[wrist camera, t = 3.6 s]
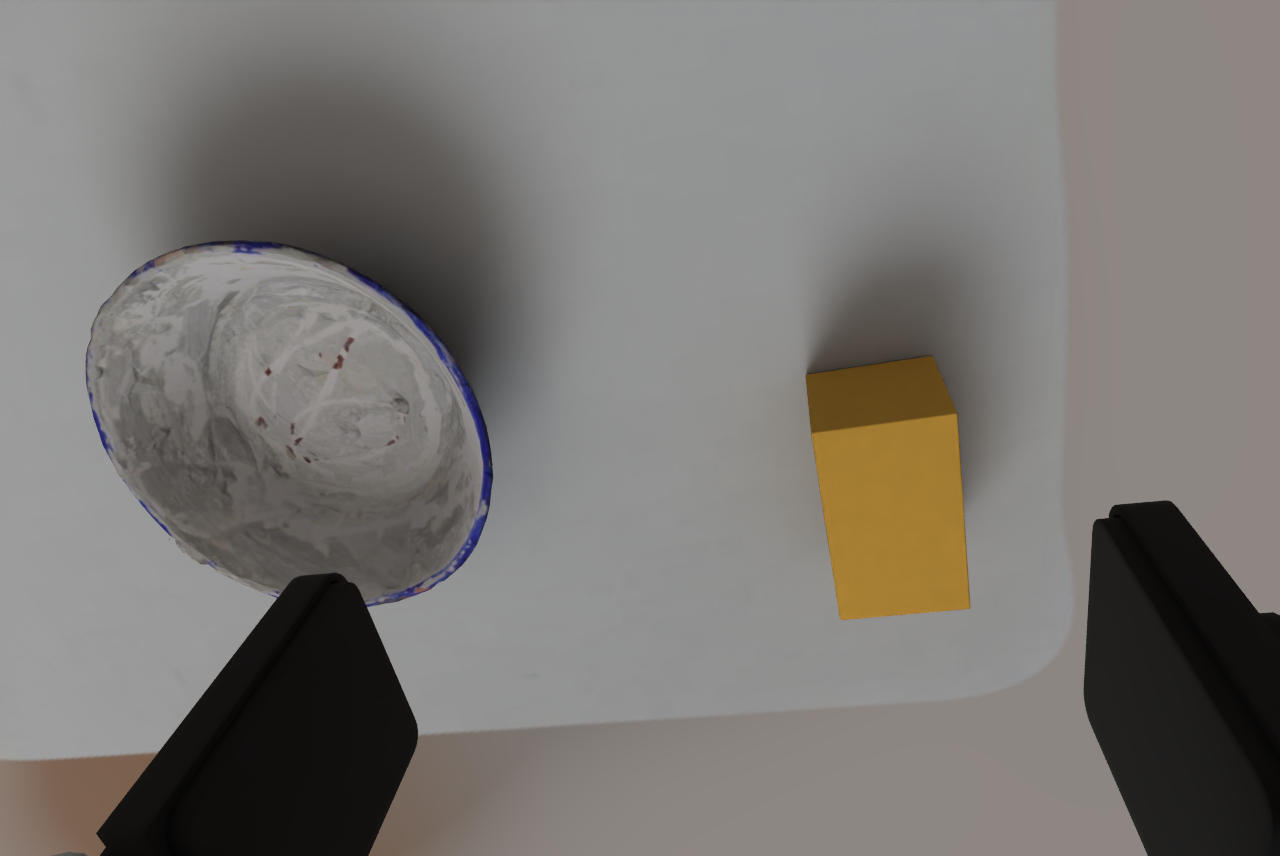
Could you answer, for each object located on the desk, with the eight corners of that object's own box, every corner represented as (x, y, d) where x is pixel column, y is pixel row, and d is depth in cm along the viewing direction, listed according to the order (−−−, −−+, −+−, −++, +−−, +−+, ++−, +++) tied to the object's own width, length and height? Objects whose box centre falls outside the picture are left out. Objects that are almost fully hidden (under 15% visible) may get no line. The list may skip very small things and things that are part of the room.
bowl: (582, 495, 31) (553, 579, 27) (293, 559, 34) (227, 642, 30) (432, 147, 26) (366, 183, 21) (106, 264, 29) (-6, 315, 25)
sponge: (805, 374, 28) (810, 432, 24) (932, 355, 27) (957, 413, 23) (831, 546, 31) (840, 620, 27) (946, 534, 30) (970, 609, 26)
